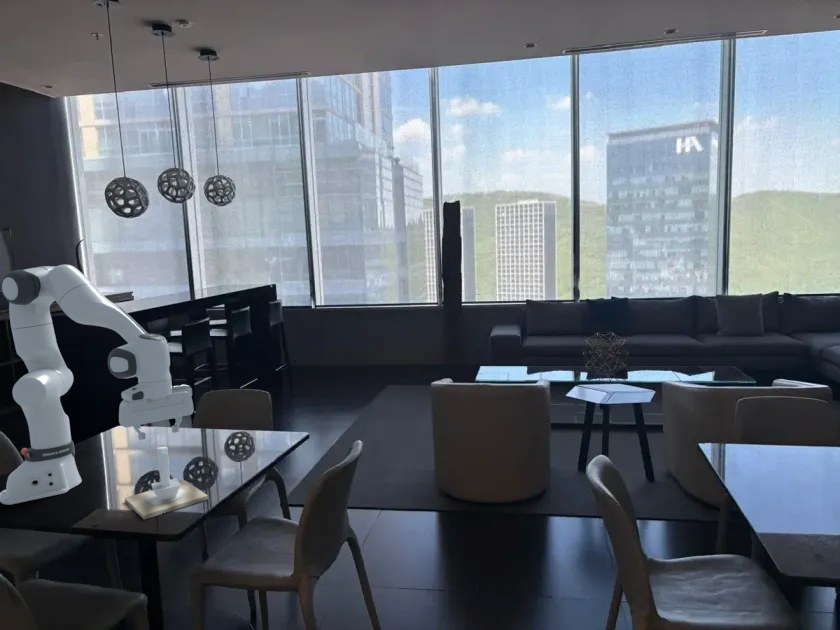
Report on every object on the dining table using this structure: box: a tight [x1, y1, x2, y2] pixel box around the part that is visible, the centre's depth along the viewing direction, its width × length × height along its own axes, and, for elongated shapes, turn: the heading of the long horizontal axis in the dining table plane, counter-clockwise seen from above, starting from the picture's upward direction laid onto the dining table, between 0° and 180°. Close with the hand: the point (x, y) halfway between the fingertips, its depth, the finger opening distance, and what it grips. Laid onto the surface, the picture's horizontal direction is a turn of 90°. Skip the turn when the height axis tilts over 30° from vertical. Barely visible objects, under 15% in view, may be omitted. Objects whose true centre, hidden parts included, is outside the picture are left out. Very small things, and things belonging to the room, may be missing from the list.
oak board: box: [124, 480, 209, 520], centre depth 176 cm, size 18×18×1 cm
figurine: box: [150, 446, 180, 501], centre depth 175 cm, size 7×9×15 cm
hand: (159, 435), depth 174 cm, fingers open, 8 cm apart
